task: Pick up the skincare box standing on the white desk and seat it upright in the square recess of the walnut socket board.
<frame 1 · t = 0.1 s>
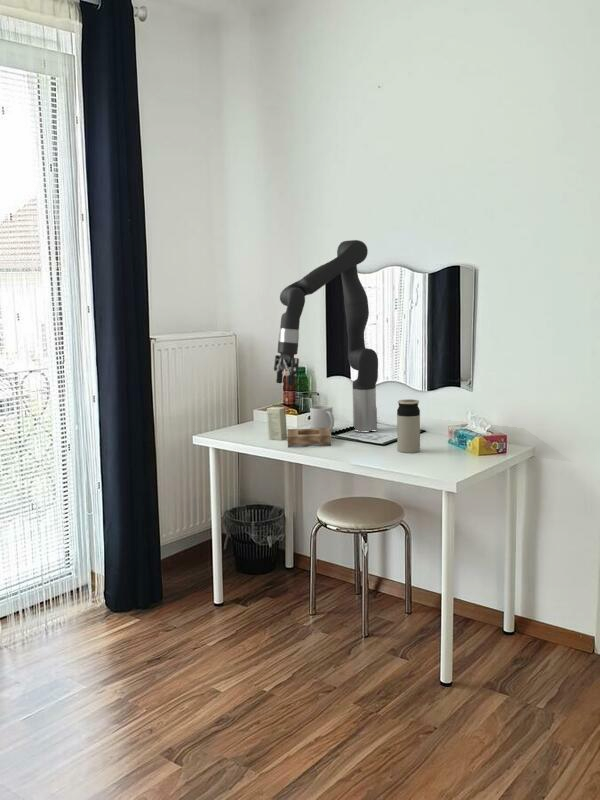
hand: (284, 384, 301), 22 cm above the table, tool pointing down, fingers open, 8 cm apart
skincare box: (277, 439, 312), on the table
travel mug: (408, 451, 285), on the table
socket board: (308, 442, 303), on the table
mug: (322, 432, 322), on the table
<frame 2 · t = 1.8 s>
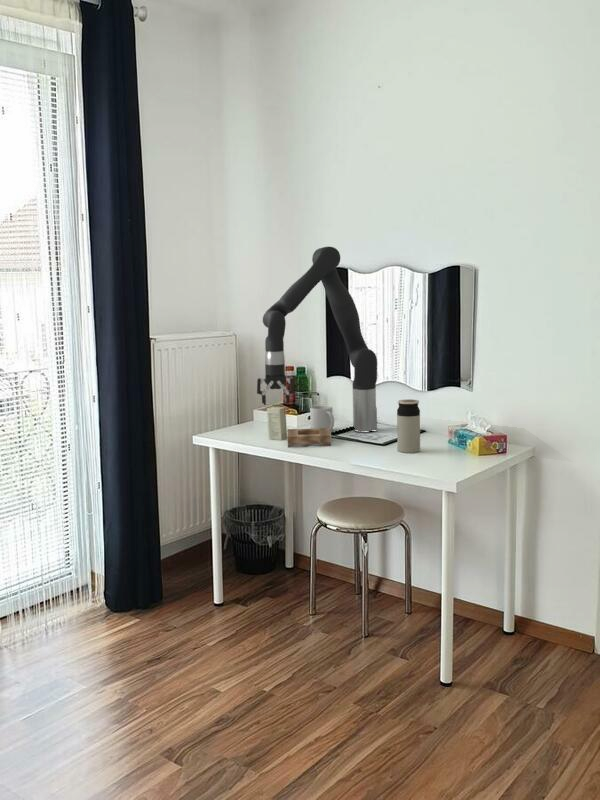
hand: (275, 404, 310), 13 cm above the table, tool pointing down, fingers open, 8 cm apart
nothing on the table moved.
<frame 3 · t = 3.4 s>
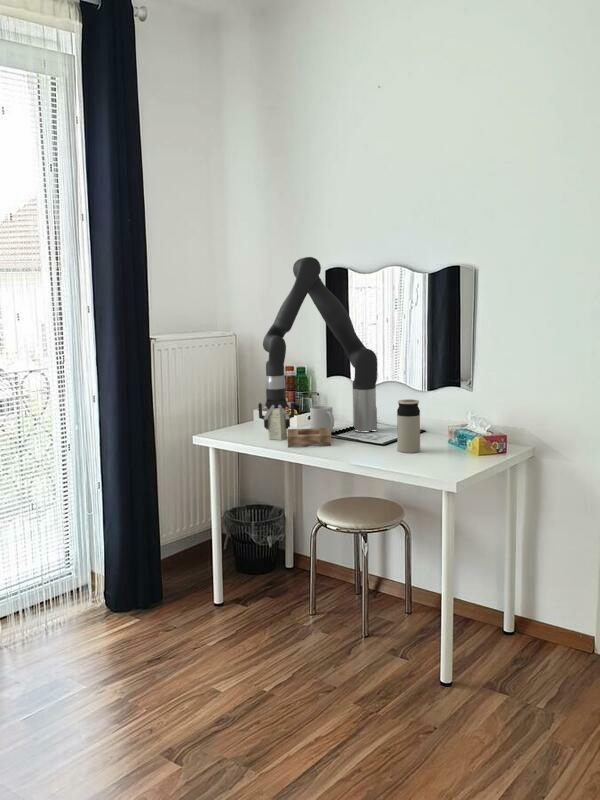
hand: (277, 428, 311), 4 cm above the table, tool pointing down, fingers closed on skincare box, 7 cm apart
skincare box: (277, 439, 312), on the table, touching gripper
everything else where it was.
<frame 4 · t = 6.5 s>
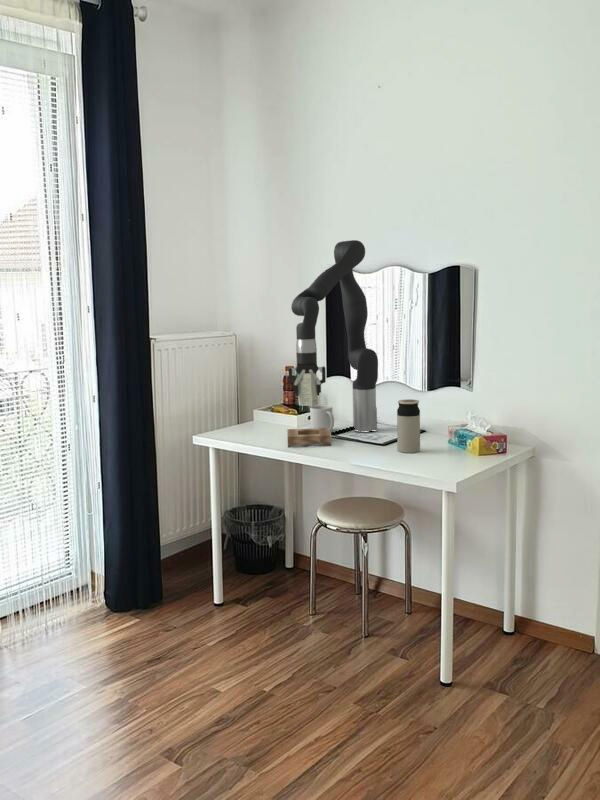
hand: (307, 394, 300), 18 cm above the table, tool pointing down, fingers closed on skincare box, 7 cm apart
skincare box: (308, 405, 301), point 14 cm above the table, touching gripper
everything else where it was.
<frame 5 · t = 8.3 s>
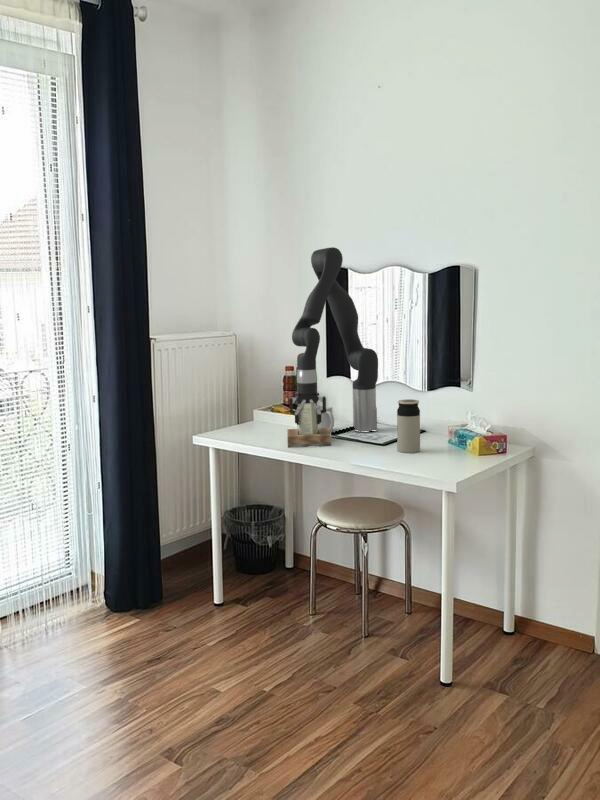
hand: (308, 424, 302), 7 cm above the table, tool pointing down, fingers closed on skincare box, 7 cm apart
skincare box: (308, 435, 303), point 3 cm above the table, touching gripper
everything else where it was.
when the fingers open (6 cm above the table, at t = 9.6 s): skincare box drops 1 cm, resting on socket board.
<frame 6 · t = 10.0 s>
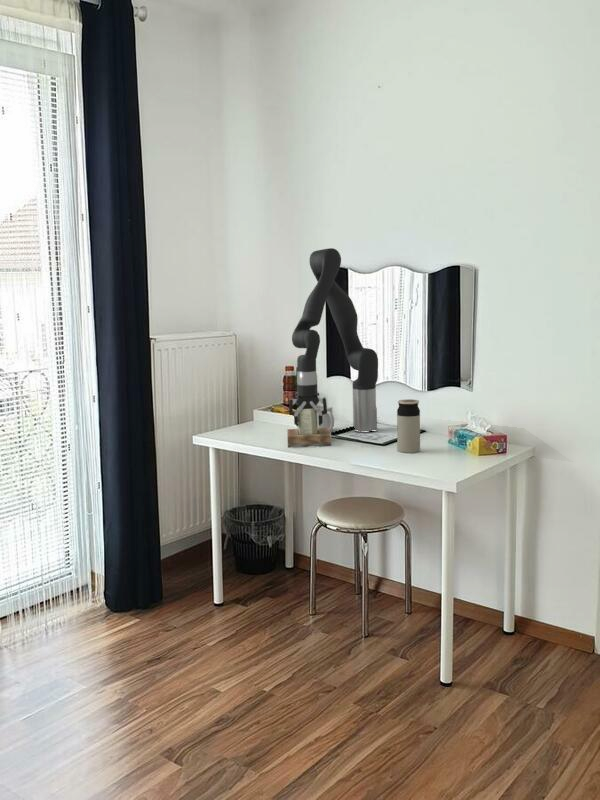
hand: (308, 425, 302), 7 cm above the table, tool pointing down, fingers open, 8 cm apart
skincare box: (308, 440, 303), point 1 cm above the table, touching socket board
everything else where it was.
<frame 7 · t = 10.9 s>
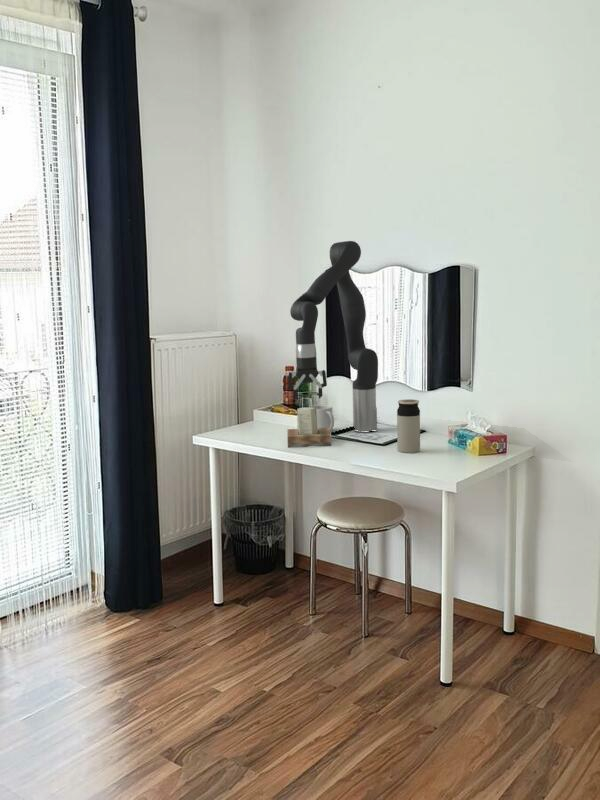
hand: (308, 398, 300), 17 cm above the table, tool pointing down, fingers open, 8 cm apart
nothing on the table moved.
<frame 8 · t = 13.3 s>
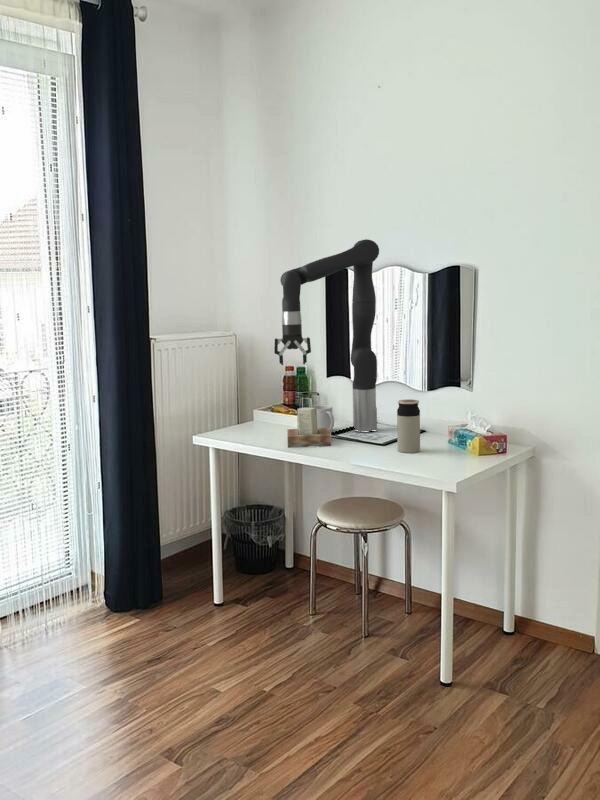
hand: (293, 364, 313), 28 cm above the table, tool pointing down, fingers open, 8 cm apart
nothing on the table moved.
at the end: skincare box inside the target area on the socket board (0.2 cm from its centre), point 0.8 cm above the socket board's base; skincare box tilted 0°; the gripper is holding nothing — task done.
